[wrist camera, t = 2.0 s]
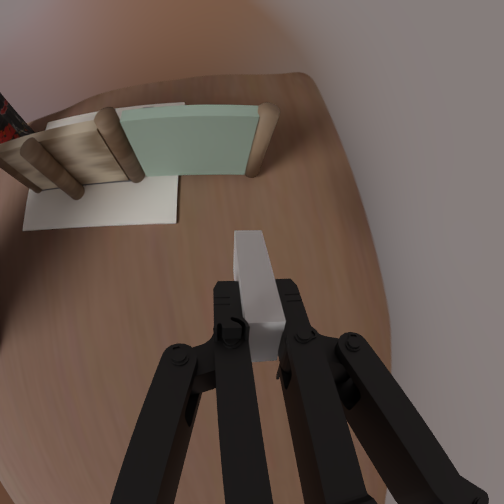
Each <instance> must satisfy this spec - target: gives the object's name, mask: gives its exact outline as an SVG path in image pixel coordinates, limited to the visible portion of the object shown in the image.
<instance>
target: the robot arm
mask: <svg viewBox="0 0 504 504" xmlns="http://www.w3.org/2000/svg"><path fill="white" fill-rule="evenodd" d="M233 270H234V281H218V282H217V284H216V285H215V287H214V289H213V292H214V328H213V331H214V334H213V336H212V338H211V339H210V340H209V341H208V342H206V343H204V344H202V345H199V346H196V347H193V348H192V347H191V346H189V345H186V344H174V345H171V346H169V347H168V348H167V349H166V350H165V351H164V353H163V355H162V357H161V360H160V362H159V365H158V367H157V370H156V372H155V375H154V377H153V380H152V383H151V385H150V388H149V391H148V393H147V396H146V399H145V401H144V404H143V407H142V409H141V412H140V415H139V418H138V420H137V423H136V426H135V429H134V432H133V435H132V437H131V440H130V443H129V446H128V449H127V452H126V455H125V458H124V461H123V464H122V467H121V470H120V473H119V477H118V480H117V483H116V486H115V489H114V493H113V496H112V499H111V503H110V504H174V501H175V497H176V492H177V488H178V484H179V480H180V476H181V472H182V469H183V465H184V461H185V457H186V453H187V449H188V445H189V441H190V437H191V433H192V429H193V426H194V422H195V418H196V414H197V410H198V406H199V403H200V399H201V395H202V392H205V391H208V390H211V389H214V388H216V394H217V411H218V426H219V440H220V452H221V464H222V475H223V485H224V495H225V504H273V500H272V493H271V487H270V481H269V475H268V469H267V462H266V456H265V450H264V443H263V437H262V430H261V423H260V417H259V410H258V403H257V396H256V389H255V382H254V375H253V368H252V362H261V361H274V360H277V357H278V356H279V361H280V364H279V368H278V372H277V376H276V379H279V377H280V380H281V386H282V391H283V396H284V401H285V406H286V411H287V416H288V421H289V426H290V431H291V436H292V441H293V446H294V452H295V457H296V462H297V467H298V472H299V477H300V482H301V487H302V493H303V498H304V503H305V504H377V502H376V501H375V500H374V498H372V497H371V496H370V495H368V493H367V491H366V488H365V485H364V481H363V477H362V473H361V470H360V466H359V462H358V459H357V455H356V452H355V448H354V445H353V441H352V438H351V434H350V431H349V427H348V424H347V422H348V423H349V425H350V427H351V428H352V430H353V432H354V433H355V435H356V436H357V438H358V440H359V441H360V443H361V445H362V446H363V448H364V450H365V451H366V453H367V455H368V456H369V458H370V460H371V461H372V463H373V465H374V466H375V468H376V470H377V471H378V473H379V475H380V476H381V478H382V479H383V481H384V483H385V484H386V486H387V488H388V489H389V491H390V493H391V494H392V496H393V497H394V499H395V501H396V502H397V503H398V504H488V503H489V498H488V494H487V493H486V492H485V491H484V490H482V489H480V488H479V487H477V486H476V485H474V484H472V483H471V482H469V481H468V480H466V479H465V478H463V477H462V476H460V475H459V473H458V472H457V470H456V468H455V467H454V465H453V464H452V462H451V461H450V459H449V458H448V456H447V454H446V453H445V451H444V450H443V448H442V447H441V445H440V444H439V442H438V441H437V439H436V438H435V436H434V435H433V433H432V432H431V430H430V429H429V427H428V426H427V425H426V423H425V421H424V420H423V419H422V417H421V416H420V414H419V413H418V412H417V410H416V408H415V407H414V406H413V404H412V403H411V401H410V400H409V399H408V397H407V396H406V395H405V393H404V391H403V390H402V389H401V387H400V386H399V385H398V383H397V382H396V380H395V379H394V378H393V376H392V375H391V373H390V372H389V371H388V369H387V368H386V367H385V365H384V364H383V362H382V361H381V360H380V358H379V357H378V356H377V354H376V353H375V352H374V350H373V349H372V348H371V346H370V345H369V344H368V342H367V341H366V340H365V339H364V338H363V337H362V336H361V335H359V334H357V333H353V332H348V333H344V334H343V335H341V336H340V338H339V339H338V338H332V337H327V336H323V335H321V334H319V333H318V332H317V331H316V330H315V329H314V328H313V327H311V325H310V323H309V320H308V317H307V314H306V311H305V308H304V305H303V302H302V299H301V296H300V293H299V290H298V287H297V285H296V284H295V283H294V282H293V281H292V280H291V279H275V278H274V274H273V271H272V267H271V263H270V259H269V256H268V252H267V248H266V245H265V241H264V237H263V234H262V230H240V231H235V233H234V266H233ZM346 420H347V421H346Z"/></svg>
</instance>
